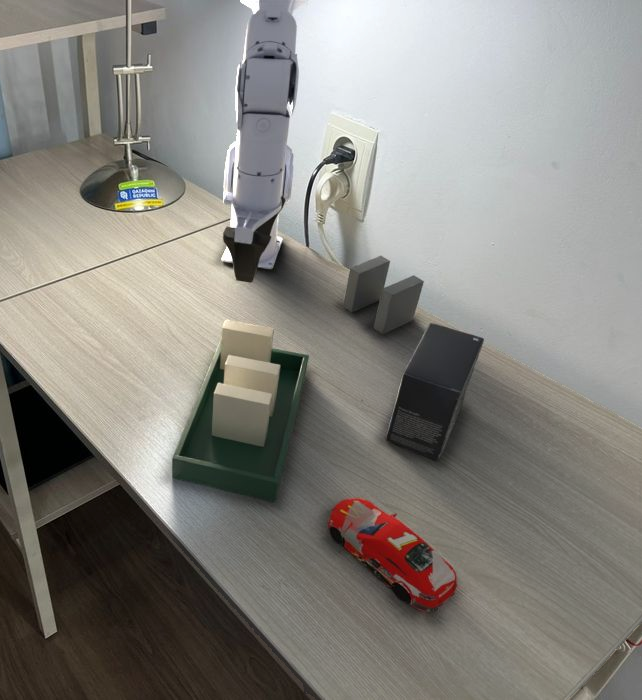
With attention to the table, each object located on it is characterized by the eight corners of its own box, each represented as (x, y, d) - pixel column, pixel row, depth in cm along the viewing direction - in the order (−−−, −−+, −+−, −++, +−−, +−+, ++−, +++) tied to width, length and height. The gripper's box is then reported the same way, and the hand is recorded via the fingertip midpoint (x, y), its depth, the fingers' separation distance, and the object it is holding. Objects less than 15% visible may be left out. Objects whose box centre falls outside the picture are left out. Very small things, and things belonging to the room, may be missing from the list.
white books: (225, 396, 83) (228, 354, 79) (275, 406, 82) (280, 364, 78) (211, 435, 78) (213, 393, 74) (263, 447, 77) (269, 404, 73)
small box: (408, 386, 86) (428, 318, 79) (462, 405, 83) (487, 337, 76) (381, 440, 78) (401, 370, 72) (439, 463, 76) (465, 392, 69)
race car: (315, 526, 69) (320, 500, 67) (352, 500, 72) (359, 475, 69) (422, 625, 61) (433, 600, 59) (460, 592, 64) (472, 567, 61)
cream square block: (223, 360, 88) (225, 319, 84) (269, 369, 87) (274, 328, 83) (219, 369, 87) (222, 327, 83) (266, 378, 86) (271, 337, 82)
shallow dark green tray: (219, 357, 90) (221, 338, 88) (306, 373, 87) (309, 354, 85) (171, 478, 74) (172, 458, 72) (275, 502, 72) (278, 483, 70)
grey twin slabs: (342, 306, 99) (349, 267, 95) (372, 293, 101) (381, 255, 97) (382, 334, 94) (392, 294, 90) (413, 320, 96) (424, 281, 92)
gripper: (239, 138, 87) (233, 233, 96) (211, 187, 76) (206, 289, 85) (295, 145, 86) (284, 241, 94) (274, 196, 75) (263, 299, 84)
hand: (250, 264), depth 90 cm, fingers open, 7 cm apart
